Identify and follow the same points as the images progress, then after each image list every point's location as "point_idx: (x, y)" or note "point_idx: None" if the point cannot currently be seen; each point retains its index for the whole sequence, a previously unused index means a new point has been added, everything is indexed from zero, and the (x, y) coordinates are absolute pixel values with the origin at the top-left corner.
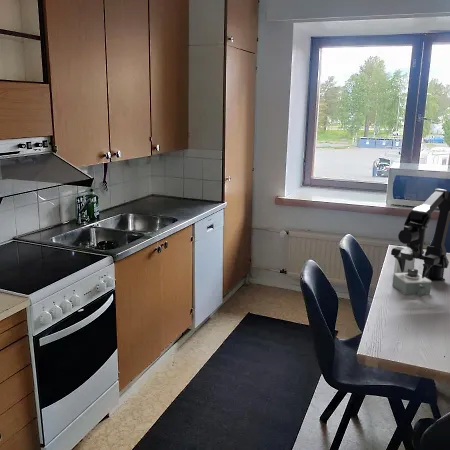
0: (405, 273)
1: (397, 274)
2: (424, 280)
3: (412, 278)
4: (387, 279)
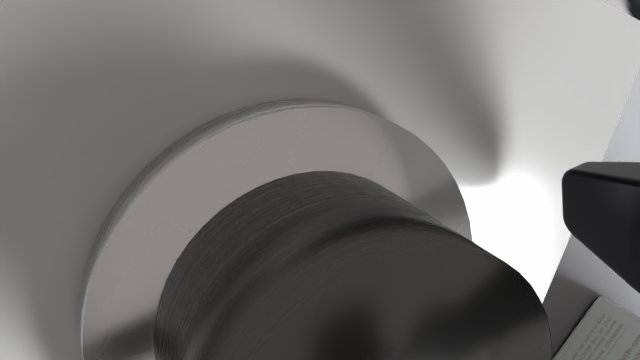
0: None
1: (571, 45)
2: None
3: (141, 179)
4: None
